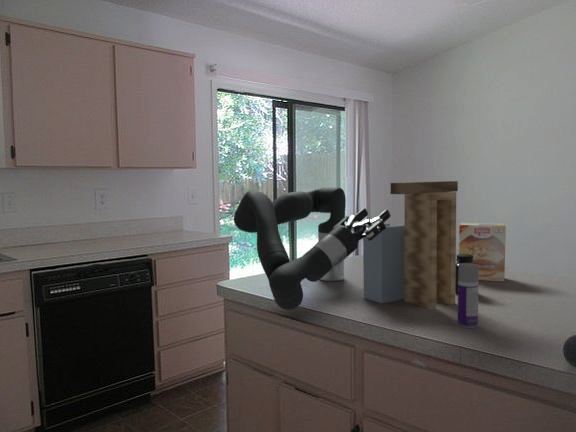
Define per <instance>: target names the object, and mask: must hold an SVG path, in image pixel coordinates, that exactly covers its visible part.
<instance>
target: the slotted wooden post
mask: <svg viewBox="0 0 576 432" xmlns="http://www.w3.org/2000/svg"><path fill="white" fill-rule="evenodd" d="M404 225H405V231H404V299H403V300H404V302H405V303H408V304H412V305H414V306H415V305H416V306H418V307H421V308H425V309H428V310H434V309H437V302H439V303H444V304H447V305H451V306H452V305H456V294H455V282H456V263H457V261H456V259H457V252H456V251H457V191H455V192H436V193H416V194H404Z"/></svg>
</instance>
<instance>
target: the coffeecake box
mask: <svg viewBox="0 0 576 432" xmlns="http://www.w3.org/2000/svg"><path fill="white" fill-rule="evenodd" d="M506 230H507V227H506V224H505V223H481V222H479V223H478V222H475V223H474V222H471V223H470V222H460V223H459V232H458V233H459V235H458V237H459V238H458V255H459V254H469V255H473V262H472V263H473V264H477V265H478V279H479V281H488V282H491V281H492V282H505V274H506V272H505V269H506V238H507V237H506V235H507V232H506Z"/></svg>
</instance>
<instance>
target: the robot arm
mask: <svg viewBox="0 0 576 432" xmlns="http://www.w3.org/2000/svg"><path fill="white" fill-rule="evenodd" d="M346 202H347V201H346V193H345V191H344V190H343V188H342V187H336V186H335V187H333V186H332V187H318V188H316V189H313V190H310V191H292V192H286V193H283V194H282V195H279V196H278V197H277V198H275V199H273V201H272V200H271V198H270V197H269V196H268V195H267V194H266V193H264V192H261V191H259V190H254V189H253V190H248V191H247V192H246V193H244V195H243V196H242V198H241V200H240V203H239V204H238V206H237V208H236V211H235V213H234V217H233V223H234V225H235V227H236V228H238V230H240V231H243V232H245V233H251V234H252V233H253V234H255V233H256V250H257V252H256V253H257V256H258V259H259V262H260V265H261V267H262V270H263V272H264V273H265V275H266V277H267V280H268V284H269V288H270V291H271V293H272V298H273V299H274V302H275V304H276V305H277V306H278V307H279V308H280V309H283V310H285V311H292V310H295V309H297V308H298V307H299V306H300V305H301V303H302V302H303V298H304V292H303V287H302V284H301V282H302V281H303V280H305V279H306V280H307V281H308V282H312V283H314V282H318V281H320V280H321V281H325V282H336V281H337V282H338V281H343V280H344V279H345V260H346V259H347V258H348V257H350V255H351V254H352V253H353V252H355V251H356V250H357V249H358V245H359V241H361V240H363V238H364V237H366V238H367V239H368V241H370V240H372V239H373V238H375V237H376V236H377V235H378V234H380V233H381V232H382V231H383V230H385V229H386V226H385V223H386V222H387V221H388V220H389V219H390V218H391V212H390V211H389V209H384V210H383V211H382V212H381V213H379V214H378V215H377V216H376V217H374V218H372V219H365V218H366V217H367V216H368V215H369V212H368V210H367V208H364V207H363V208H361V210H359V211H358V212H356V213H355V214H352V215H350V216H349V215H346V204H347V203H346ZM311 213H320V214H321V213H324V214H330V215H329V219H327V220H326V221H323V222H320V223H318V225H317V232H318V233H317V237H318V241H317V242H316V244H314V245H313V246H312V247H311V248H310V249H309V250H308V251H306V252H305V253H304V254H303V255H302V256H299V257H298V258H294V259H293V260H291V259H290V257H289V255H288V253H287V250H286V248H285V245H284V243H283V241H282V238H281V236H280V232H279V225H281V224H285V223H290V222H295V221H299V220H303V219H306V218H307V217H308V216H309V215H310V214H311ZM364 219H365V220H364ZM362 220H363V221H362ZM366 225H369V228H367V226H366ZM378 228H379V229H378Z"/></svg>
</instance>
